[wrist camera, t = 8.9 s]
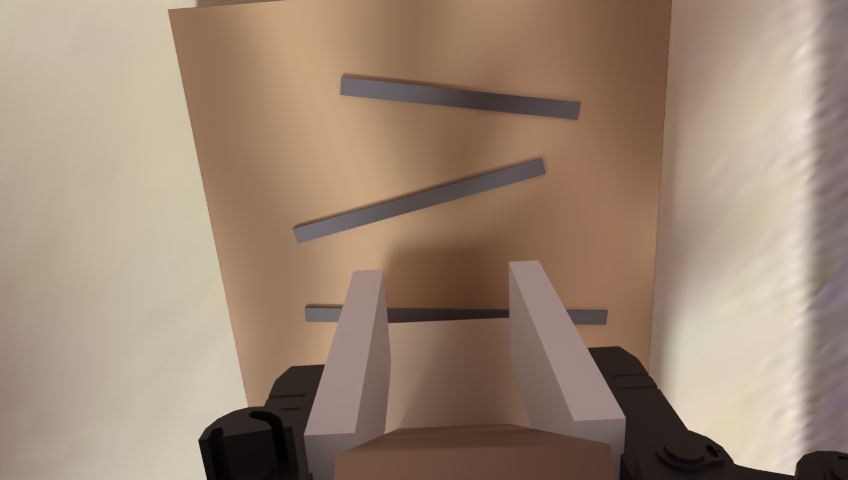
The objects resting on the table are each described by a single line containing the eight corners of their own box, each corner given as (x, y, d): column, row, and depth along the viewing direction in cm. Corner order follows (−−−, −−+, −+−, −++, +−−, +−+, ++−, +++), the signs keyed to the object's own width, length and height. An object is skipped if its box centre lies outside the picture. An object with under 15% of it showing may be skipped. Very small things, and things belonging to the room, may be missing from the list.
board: (294, 564, 24) (285, 598, 23) (188, 12, 17) (165, 9, 16) (622, 544, 24) (636, 577, 23) (652, -24, 17) (675, -31, 15)
